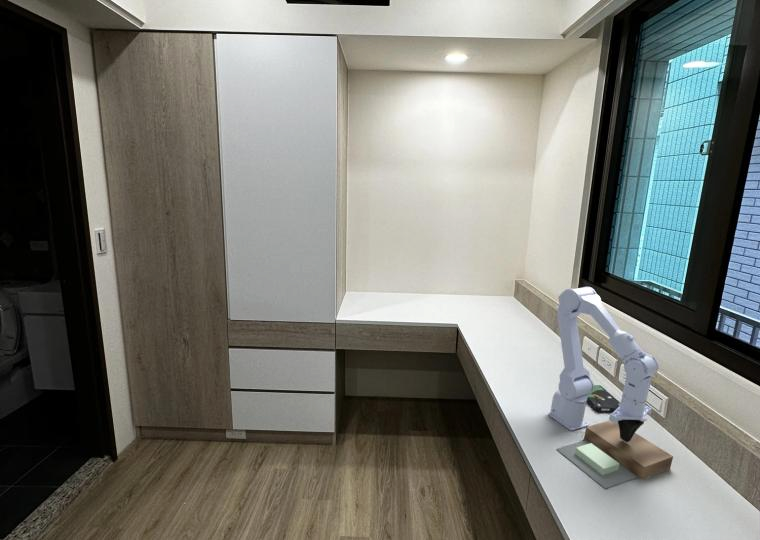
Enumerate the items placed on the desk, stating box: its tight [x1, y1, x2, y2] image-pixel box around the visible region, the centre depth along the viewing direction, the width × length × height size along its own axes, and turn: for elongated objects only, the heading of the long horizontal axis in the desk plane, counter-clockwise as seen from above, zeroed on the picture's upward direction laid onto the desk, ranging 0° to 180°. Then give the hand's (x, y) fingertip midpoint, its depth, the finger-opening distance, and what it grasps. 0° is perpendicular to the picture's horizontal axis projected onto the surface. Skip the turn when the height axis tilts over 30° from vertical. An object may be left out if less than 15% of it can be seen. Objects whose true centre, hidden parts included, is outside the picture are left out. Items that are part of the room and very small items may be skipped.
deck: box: [583, 419, 674, 480], centre depth 117 cm, size 18×12×4 cm, turn 23°
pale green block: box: [575, 443, 619, 475], centre depth 112 cm, size 9×6×2 cm, turn 23°
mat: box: [556, 439, 638, 490], centre depth 112 cm, size 16×12×1 cm
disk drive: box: [586, 384, 621, 414], centre depth 144 cm, size 10×3×15 cm
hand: (624, 439), depth 116 cm, fingers closed
